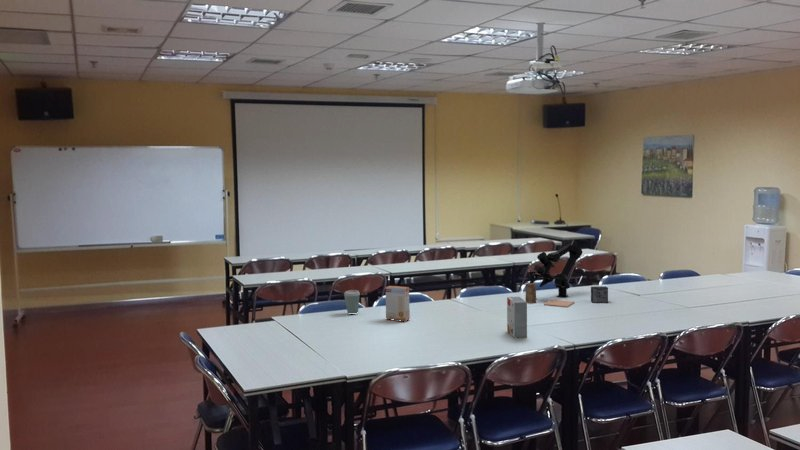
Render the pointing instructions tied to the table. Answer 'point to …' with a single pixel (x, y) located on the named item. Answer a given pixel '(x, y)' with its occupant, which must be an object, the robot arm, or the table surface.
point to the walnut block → (531, 293)
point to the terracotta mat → (559, 303)
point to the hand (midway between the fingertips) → (535, 285)
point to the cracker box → (397, 303)
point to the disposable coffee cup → (352, 300)
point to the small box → (599, 294)
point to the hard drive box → (517, 316)
